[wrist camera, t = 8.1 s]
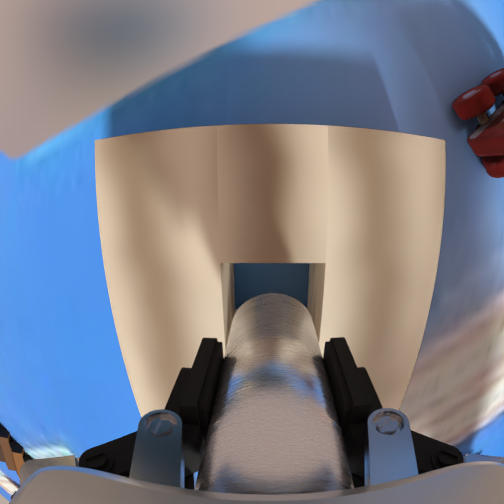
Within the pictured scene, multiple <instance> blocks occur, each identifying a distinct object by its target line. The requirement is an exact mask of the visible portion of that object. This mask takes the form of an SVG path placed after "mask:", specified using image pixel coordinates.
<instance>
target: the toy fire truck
mask: <svg viewBox="0 0 504 504" xmlns="http://www.w3.org/2000/svg"><path fill="white" fill-rule="evenodd" d="M500 94H503V96H504V68H502V69H500V70H498V71H496V72H494V73H492V74H491V75H489V76H488V77H486V78H485V79H484V80H483V81H482V85H479V86H476V87H474V88H472V89H470V90H468V91H467V92H465V93H463V94H462V95H460V96H459V97H458V98H457V99H455V101H454V102H453V104H452V106H453V109H454V110H455V112H456V113H457V115H458V117H459V118H460V119H462V120H470V119H472V118H474V117H477V119H478V121H479V123H480V124H479V125H478V126H477V127H476V130H475V131H474V132H473V133H472V134H471V135H470V136H469V137H468V139H467V141H468V143H469V145H470V147H471V148H472V150H473V152H474V153H475V155H477V156H480V157H481V156H483V158H482V162H483V165H484V167H485V169H486V171H487V173H488V174H489V175H490V176H491V177H494V178H501V177H504V100H503V102H502V105H501V106H500V107H499V108H498V109H497V110H496V111H495V112H494V113H493V114H492V115H491V116H490V117H489V118H488V116H487V114H486V111H487V110H489V109H490V108H491V107H492V106H493V105H494V103H495V102H496V99H495V96H498V95H500Z"/></svg>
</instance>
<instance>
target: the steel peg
mask: <svg viewBox="0 0 504 504" xmlns="http://www.w3.org/2000/svg"><path fill="white" fill-rule="evenodd" d="M352 488H354V485H353V480H352V476H351V471H350V467H349V462H348V458H347V453H346V449H345V445H344V440H343V436H342V432H341V428H340V423H339V419H338V415H337V411H336V407H335V403H334V399H333V395H332V391H331V387H330V383H329V380H328V376H327V372H326V368H325V364H324V361H323V357H322V353H321V350H320V346H319V342H318V339H317V335H316V331H315V328H314V324H313V321H312V317H311V315H310V313H309V311H308V310H307V308H306V307H305V306H304V305H303V304H302V303H301V302H300V301H298V300H297V299H295V298H293V297H291V296H288V295H285V294H280V293H266V294H261V295H257V296H255V297H253V298H251V299H249V300H247V301H246V302H245V303H243V304H242V305H241V306H240V307H239V309H238V310H237V311H236V313H235V315H234V317H233V320H232V324H231V329H230V333H229V338H228V342H227V346H226V351H225V355H224V360H223V364H222V368H221V373H220V377H219V382H218V386H217V391H216V395H215V400H214V404H213V408H212V413H211V417H210V422H209V426H208V431H207V435H206V440H205V444H204V449H203V453H202V458H201V462H200V467H199V471H198V476H197V480H196V485H195V489H194V490H200V491H209V492H219V493H233V494H256V495H281V494H305V493H318V492H328V491H337V490H345V489H352Z"/></svg>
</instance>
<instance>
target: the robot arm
mask: <svg viewBox="0 0 504 504" xmlns="http://www.w3.org/2000/svg"><path fill="white" fill-rule="evenodd" d="M223 360H224V357H223V344H222V342H218V340H217V338H202V341H201V344H200V346H199V349H198V352H197V354H196V357H195V360H194V363H193V365H192V368H185V367H183V368H181V370H180V372H179V375H178V377H177V379H176V382H175V384H174V387H173V389H172V392H171V394H170V396H169V399H168V401H167V404H166V406H165V409H160V410H154V411H150V412H148V413H147V414H145V415H144V416H143V417H142V418H141V419H140V422H139V425H138V430H137V431H136V432H134V433H131V434H129V435H126V436H123V437H121V438H118V439H115V440H113V441H110V442H107V443H105V444H102V445H99V446H96V447H93V448H91V449H88V450H86V451H85V452H84V453H83V454H82V455H81V457H79V458H76V457H75V455H72V456H64V457H55V458H45V459H32V460H28V461H26V462H25V463H23V465H22V466H21V468H20V488H19V489H18V491H17V492H16V493H15V495H14V496H13V498H12V500H11V501H10V503H9V504H504V457H496V456H487V455H478V454H471V453H467V454H466V455H465V456H463V455H462V453H461V452H460V451H459V450H458V449H457V448H455V447H453V446H451V445H448V444H445V443H442V442H440V441H437V440H434V439H432V438H429V437H427V436H424V435H422V434H419V433H417V432H414V431H412V430H410V425H409V421H408V419H407V417H406V416H405V415H404V414H403V413H402V412H400V411H399V410H396V409H393V408H383V407H382V405H381V402H380V400H379V398H378V395H377V393H376V391H375V388H374V386H373V384H372V381H371V379H370V377H369V375H368V372H367V370H366V368H365V367H357V365H356V363H355V360H354V358H353V356H352V353H351V351H350V348H349V346H348V344H347V341H346V339H345V337H337V338H330V341H326V342H325V347H324V355H323V361H324V364H325V368H326V372H327V376H328V380H329V383H330V387H331V391H332V395H333V399H334V403H335V407H336V411H337V415H338V419H339V423H340V428H341V432H342V436H343V440H344V445H345V449H346V453H347V458H348V462H349V467H350V471H351V476H352V480H353V485H354V488H352V489H345V490H337V491H328V492H318V493H305V494H281V495H256V494H233V493H219V492H209V491H200V490H194V489H195V485H196V472H197V471H199V467H200V462H201V458H202V453H203V449H204V444H205V440H206V435H207V431H208V426H209V422H210V417H211V413H212V408H213V404H214V400H215V395H216V391H217V386H218V382H219V377H220V373H221V368H222V364H223Z"/></svg>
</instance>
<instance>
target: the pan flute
mask: <svg viewBox="0 0 504 504" xmlns="http://www.w3.org/2000/svg"><path fill="white" fill-rule="evenodd" d="M28 460H32V458H31V457H30V456H28V455H27V456H24V449H23V447H22V446H20V445H19V444H18V443H17V442H16V441H14V440H13V441H12V442H11V437H10V432H8V431H7V430H6V429H5V428H4V427H3V426H2V425H1V424H0V461H2V462H6V465H7V467H8V469H9V470H14V471H16V472H17V474H18V476H19V478H20V468H21V466H22V465H23V463H25V462H26V461H28Z"/></svg>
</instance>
